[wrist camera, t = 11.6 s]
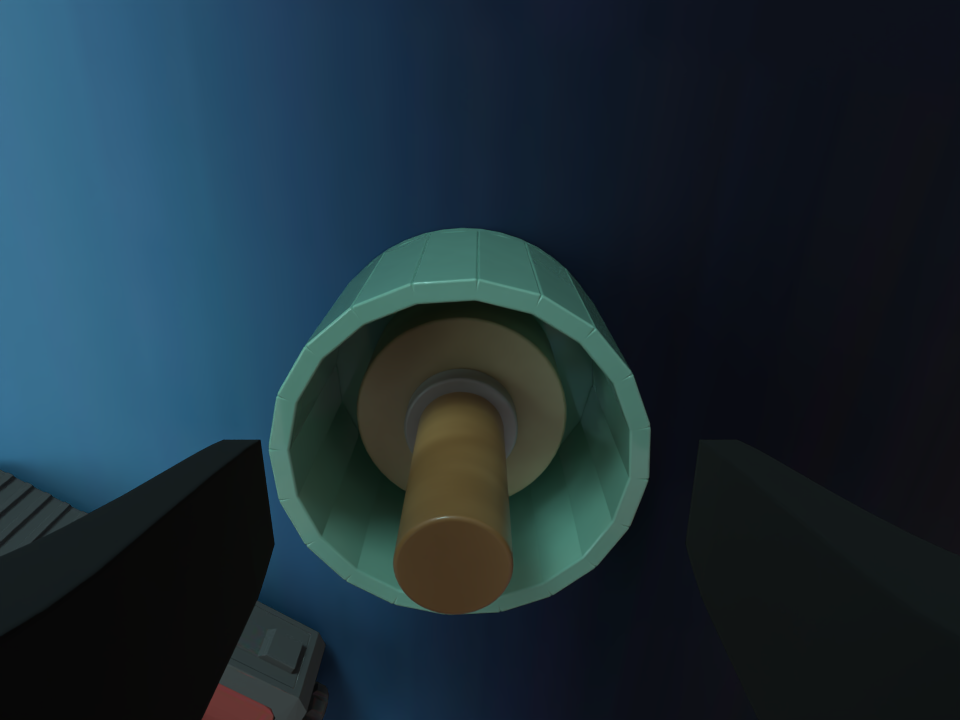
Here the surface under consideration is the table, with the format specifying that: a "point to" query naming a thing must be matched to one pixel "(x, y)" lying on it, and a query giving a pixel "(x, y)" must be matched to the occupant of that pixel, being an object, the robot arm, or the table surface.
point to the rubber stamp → (460, 441)
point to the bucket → (533, 511)
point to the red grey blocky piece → (259, 652)
